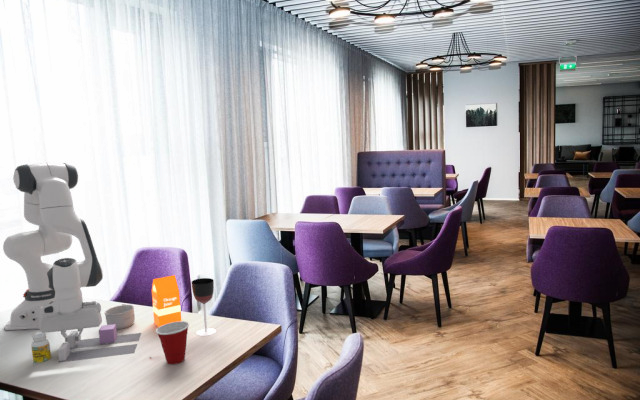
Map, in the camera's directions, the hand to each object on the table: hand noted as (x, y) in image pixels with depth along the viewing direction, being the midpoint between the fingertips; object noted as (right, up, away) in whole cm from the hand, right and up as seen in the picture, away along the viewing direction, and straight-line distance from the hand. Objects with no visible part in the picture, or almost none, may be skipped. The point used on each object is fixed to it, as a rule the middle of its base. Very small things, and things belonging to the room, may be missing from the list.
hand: (73, 340), depth 179 cm
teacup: (+10, 0, +20) cm, 22 cm away
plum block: (+12, -1, +3) cm, 12 cm away
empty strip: (+13, -3, -8) cm, 16 cm away
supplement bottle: (-5, -4, -11) cm, 13 cm away
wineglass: (+46, 0, +10) cm, 47 cm away
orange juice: (+29, 0, +19) cm, 34 cm away
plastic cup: (+41, -3, -14) cm, 44 cm away
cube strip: (+11, -2, +3) cm, 11 cm away
